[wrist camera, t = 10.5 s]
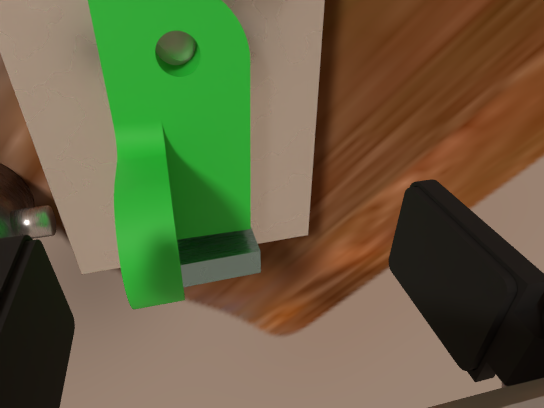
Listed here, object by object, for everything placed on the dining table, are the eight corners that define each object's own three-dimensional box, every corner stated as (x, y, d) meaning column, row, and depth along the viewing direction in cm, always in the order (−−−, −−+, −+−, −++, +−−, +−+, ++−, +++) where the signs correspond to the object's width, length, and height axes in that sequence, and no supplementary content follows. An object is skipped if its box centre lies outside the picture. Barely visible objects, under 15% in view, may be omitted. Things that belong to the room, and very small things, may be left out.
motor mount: (307, -106, 18) (367, -124, 13) (293, 210, 28) (325, 264, 23) (-302, -128, 13) (-552, -168, 8) (-57, 265, 23) (-108, 349, 18)
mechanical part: (243, 209, 23) (281, 310, 17) (138, 223, 22) (137, 338, 15) (239, -22, 17) (301, -1, 10) (89, -25, 15) (52, -1, 9)
